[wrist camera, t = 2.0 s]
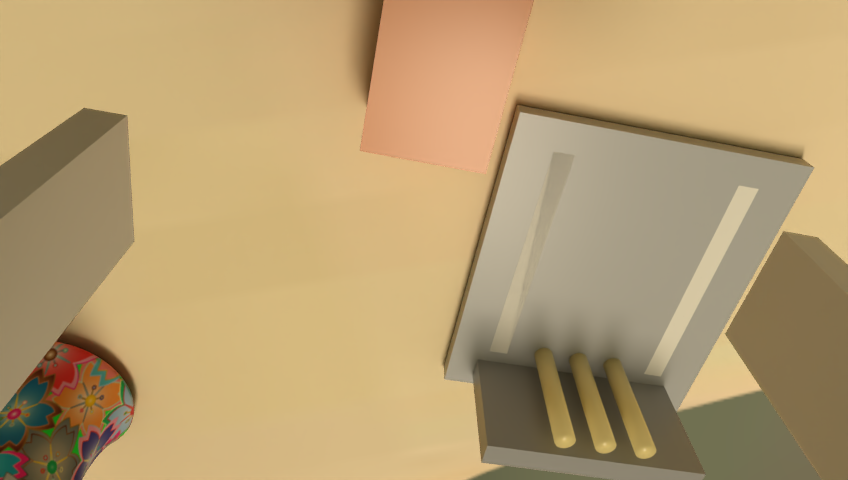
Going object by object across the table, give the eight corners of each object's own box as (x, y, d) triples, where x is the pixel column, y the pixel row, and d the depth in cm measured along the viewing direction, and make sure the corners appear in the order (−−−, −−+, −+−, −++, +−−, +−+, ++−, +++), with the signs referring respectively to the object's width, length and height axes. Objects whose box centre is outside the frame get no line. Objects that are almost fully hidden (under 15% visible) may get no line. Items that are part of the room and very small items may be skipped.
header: (517, 104, 28) (543, 168, 22) (802, 158, 29) (901, 233, 23) (443, 366, 36) (448, 466, 30) (670, 399, 37) (718, 501, 31)
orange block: (396, -59, 24) (391, -45, 20) (517, -32, 25) (537, -13, 21) (369, 108, 28) (359, 150, 24) (475, 128, 28) (485, 173, 24)
